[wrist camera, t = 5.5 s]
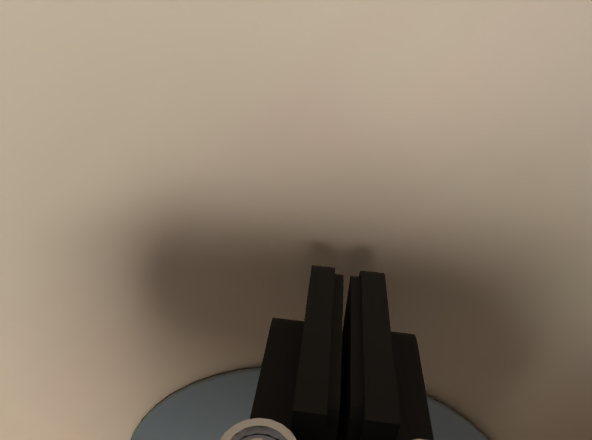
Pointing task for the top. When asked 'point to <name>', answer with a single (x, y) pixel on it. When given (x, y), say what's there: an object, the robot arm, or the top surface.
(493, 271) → the top surface
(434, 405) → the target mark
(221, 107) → the top surface
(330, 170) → the top surface
